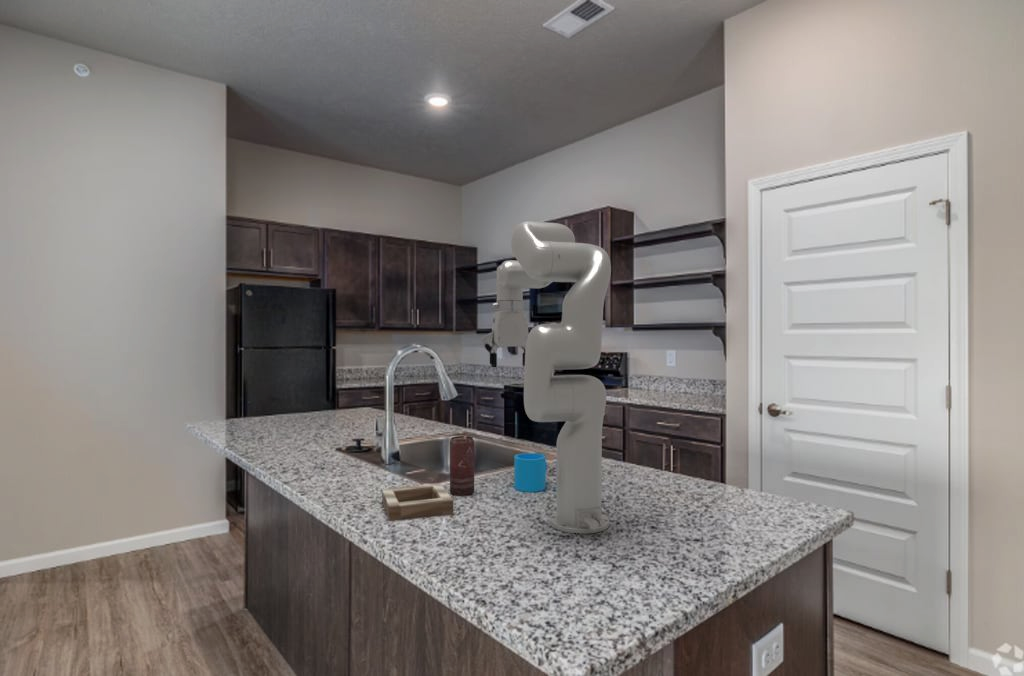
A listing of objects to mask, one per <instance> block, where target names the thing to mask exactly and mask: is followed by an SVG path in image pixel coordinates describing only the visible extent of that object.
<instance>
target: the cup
mask: <svg viewBox="0 0 1024 676" xmlns="http://www.w3.org/2000/svg"><path fill="white" fill-rule="evenodd" d="M474 491H475V440H474V437H473V436H469V435H457V436H452V437H451V439H450V441H449V492H450V494H451V495H453V496H459V497H462V496H463V497H465V496H469V495H470V496H471V495H472V494H473V493H474Z"/></svg>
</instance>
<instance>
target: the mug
mask: <svg viewBox="0 0 1024 676" xmlns="http://www.w3.org/2000/svg"><path fill="white" fill-rule="evenodd" d="M513 458H514V459H513V461H514V469H513V470H514V472H513V473H514V477H513V478H514V479H513V481H514V486H513V487H514V489H515V490H517V491H518V492H519V491H520V492H525V493H526V492H527V493H528V492H529V493H535V492H541V491H544V490H545V489H546V484H547V483H546V482H547V481H546V475H547V469H548V465H547V463H548V462H547V461H546V455H545V454H541V453H536V452H524V453H518V454H517V453H516V454H515V455H514V457H513Z"/></svg>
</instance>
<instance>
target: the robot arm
mask: <svg viewBox="0 0 1024 676" xmlns="http://www.w3.org/2000/svg"><path fill="white" fill-rule="evenodd" d="M575 237H576V236H575V235H574V233H573V231H572V229H570V228H569V227H568V226H566V225H564V224H562V223H556V222H546V221H545V222H544V221H543V222H542V221H530V220H527V221H523V222H520V223H519V224H517V225H516V227H515V228H514V229H513V231H512V236H511V241H510V246H511V251H512V254H513V256H514V258H515V259H516V260H514V259H513V260H512V259H510V260H505V261H503V262H502V263H501V264H500V265H498V266H497V268H496V302H494V303H492V304H491V309H492V308H493V309H495V312H494V314H493V319H492V326H491V327H492V328H491V332H489V333H487V334H486V335H484V336H481V337H480V342H481V344H482V345H483V348H484V349H485V350H487V352H488V353H489V364H490V365H491V367H492V368H497V367H498V363H497V361H498V359H497V357H498V356H497V355H498V354H497V353H496V351H497V350H498V349H499V347H503V348H504V347H505V348H506V347H520V349H522V350H523V352H522V354H521V355H522V361H521V362H522V367H524V376H523V377H524V378H523V379H524V381H523V406H524V411H525V414H526V415H527V417H528V418H529V420H531V421H533V422H537V423H554V422H555V423H557V422H565V423H564V424H563V426H562V427H561V429H560V431H559V433H558V435H557V439H556V512H554V513H552V514H551V515H550V516H549V518H548V519H549V521H548V522H549V525H550V527H552V528H554V529H556V530H558V531H560V532H563V533H567V532H568V534H574V533H576V534H577V533H579V534H577V535H588V534H590V533H591V534H597V533H600V532H603V531H606V530H607V529H608V528H609V527H610V519H609V517H608V516H607V515H605V514H603V513H602V512H603V507H602V505H603V504H602V503H603V499H602V498H603V497H602V496H603V494H602V493H603V491H602V490H603V488H602V487H603V485H602V482H603V481H602V479H603V478H602V477H603V475H602V473H603V472H602V471H603V470H602V468H603V466H602V464H603V461H602V457H603V456H602V453H603V450H602V449H603V448H602V446H603V445H602V444H603V440H602V439H603V422H604V418H605V417H604V416H605V411H606V406H607V390H606V387H605V384H604V383H603V382H602V381H601V380H600V379H599V378H597V377H595V376H594V375H593V376H592V375H589V374H587V375H586V374H564V375H553V372H554V371H557V370H558V371H559V370H561V371H562V370H584V369H586V370H587V369H590V368H593V367H595V366H596V365H597V364H599V361H600V359H601V355H602V344H603V343H602V340H603V324H604V323H603V322H604V306H605V299H606V295H607V291H608V288H609V285H610V280H611V273H612V265H611V260H610V257H609V255H608V252H607V251H606V250H605V249H604V248H603V247H601V246H598V245H597V244H591V243H584V242H576V238H575ZM554 282H555V283H574V284H573V285H572V286H571V287H570V289H569V290H568V292H567V293H566V294H565V296H564V298H563V301H562V309H561V312H562V313H561V321H560V323H541V324H538V325H536V326H534V327H532V328H531V330H530V331H529V325H528V319H527V314H526V311H525V312H524V311H523V308H524V307H523V306H524V305H523V300H524V299H523V294H524V293H523V291H524V289H542V288H546V287H548V286H549V285H551V284H552V283H554ZM490 339H491V345H490V344H489V343H488V340H490ZM576 534H575V535H576Z"/></svg>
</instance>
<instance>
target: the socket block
mask: <svg viewBox="0 0 1024 676" xmlns="http://www.w3.org/2000/svg"><path fill="white" fill-rule="evenodd" d="M381 494H382V495H381V497H382V498H381V499H382V500H381V502H382V506H383V508H384V511H385V514H386V517H387V519H388V521H391V522H393V521H402V520H411V519H422V518H430V517H441V516H450V515H452V516H453V515H454V498H453V497H452V496H451V495H450V494H449V493H448V491H447V490H446V489H445V488H444V486H443V485H442V484H441V483H433V484H424V485H413V486H402V487H391V488H382V489H381Z"/></svg>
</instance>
